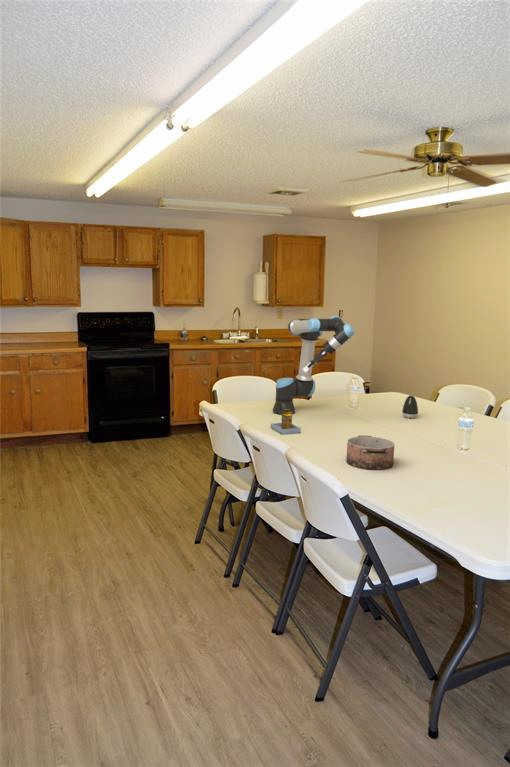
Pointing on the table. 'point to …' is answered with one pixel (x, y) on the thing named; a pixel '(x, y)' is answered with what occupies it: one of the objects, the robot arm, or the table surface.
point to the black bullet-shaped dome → (410, 407)
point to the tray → (285, 431)
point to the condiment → (286, 419)
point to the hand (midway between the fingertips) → (305, 369)
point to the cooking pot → (370, 453)
